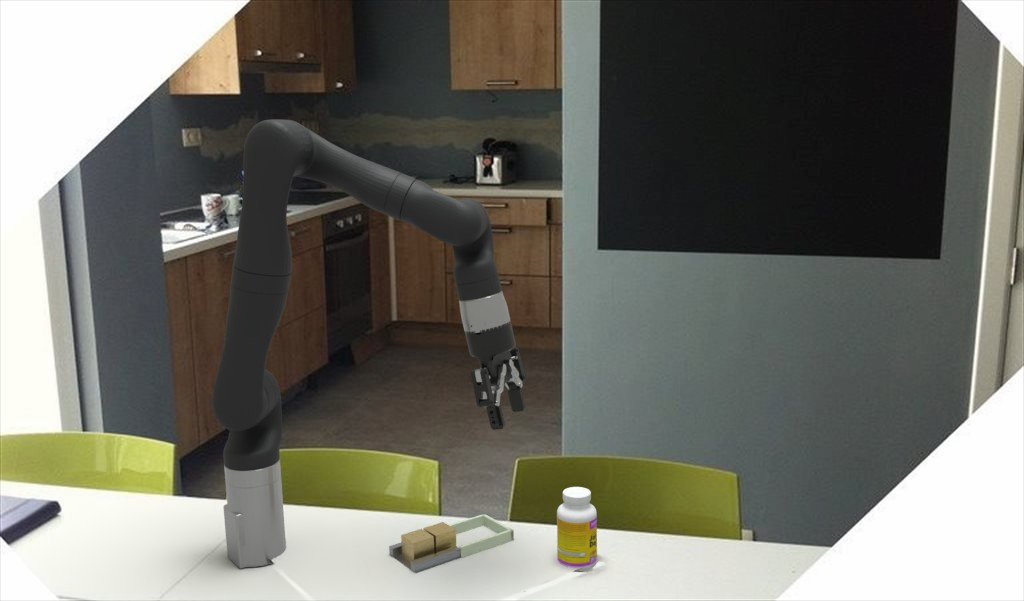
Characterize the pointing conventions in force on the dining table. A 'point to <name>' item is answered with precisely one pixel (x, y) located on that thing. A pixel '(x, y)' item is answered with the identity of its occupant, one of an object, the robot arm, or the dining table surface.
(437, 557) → the slot rail
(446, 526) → the brass block
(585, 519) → the supplement bottle
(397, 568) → the dining table surface
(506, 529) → the tray
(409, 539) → the brass block
